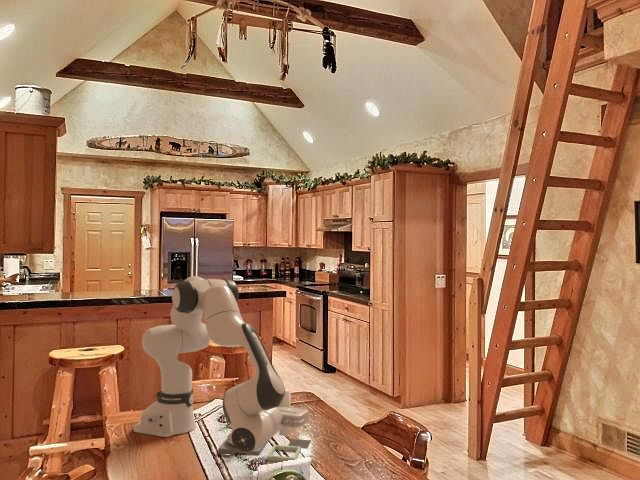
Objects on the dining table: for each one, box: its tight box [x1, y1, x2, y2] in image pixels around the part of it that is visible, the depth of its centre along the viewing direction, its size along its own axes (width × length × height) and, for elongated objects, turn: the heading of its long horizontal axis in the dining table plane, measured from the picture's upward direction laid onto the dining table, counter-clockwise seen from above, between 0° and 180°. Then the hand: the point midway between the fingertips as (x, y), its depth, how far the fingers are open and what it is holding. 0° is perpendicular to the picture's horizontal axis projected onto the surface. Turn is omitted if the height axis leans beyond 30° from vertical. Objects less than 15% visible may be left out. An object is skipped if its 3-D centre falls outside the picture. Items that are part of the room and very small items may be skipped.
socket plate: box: [287, 438, 312, 449], centre depth 170 cm, size 7×7×1 cm
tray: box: [266, 444, 302, 462], centre depth 160 cm, size 9×9×2 cm
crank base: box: [217, 438, 271, 456], centre depth 168 cm, size 14×14×2 cm
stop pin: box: [278, 388, 292, 437], centre depth 160 cm, size 4×4×14 cm
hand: (285, 406), depth 161 cm, fingers closed on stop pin, 4 cm apart
